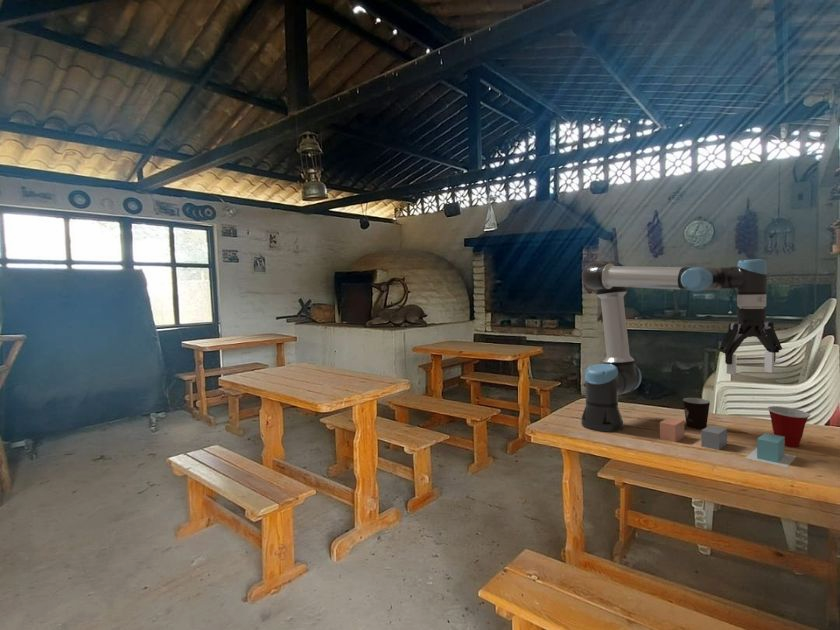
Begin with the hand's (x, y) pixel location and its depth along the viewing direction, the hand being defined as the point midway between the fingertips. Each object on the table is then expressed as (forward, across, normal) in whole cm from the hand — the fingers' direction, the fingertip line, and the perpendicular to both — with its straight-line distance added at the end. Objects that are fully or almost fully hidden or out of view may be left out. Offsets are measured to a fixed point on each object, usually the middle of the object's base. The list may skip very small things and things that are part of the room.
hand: (750, 373), depth 143 cm
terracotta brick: (+25, -17, +14) cm, 33 cm away
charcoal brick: (+25, -10, +3) cm, 27 cm away
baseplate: (+25, -2, -10) cm, 26 cm away
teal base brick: (+24, -2, -10) cm, 26 cm away
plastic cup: (+25, +13, -1) cm, 28 cm away
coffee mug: (+25, +1, +24) cm, 35 cm away
